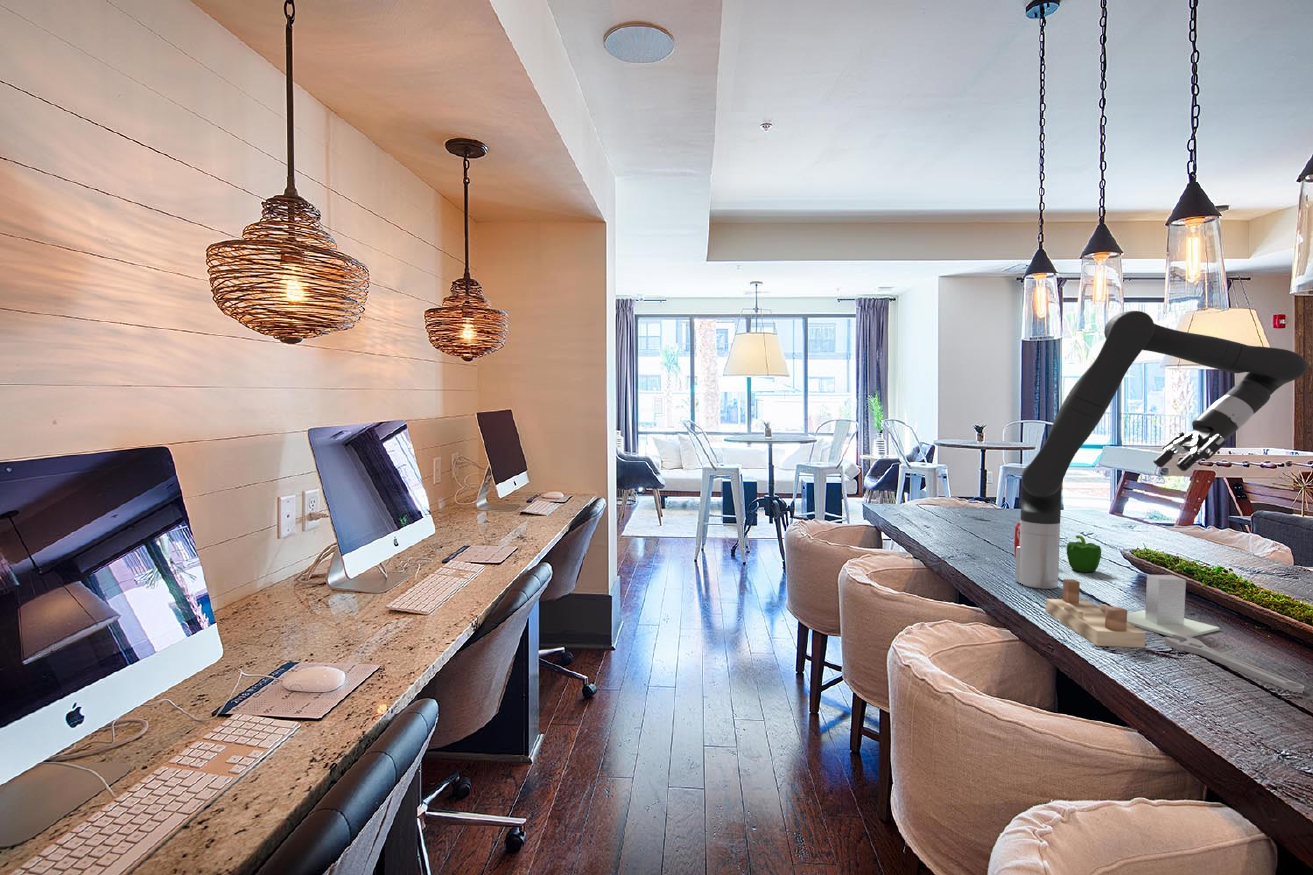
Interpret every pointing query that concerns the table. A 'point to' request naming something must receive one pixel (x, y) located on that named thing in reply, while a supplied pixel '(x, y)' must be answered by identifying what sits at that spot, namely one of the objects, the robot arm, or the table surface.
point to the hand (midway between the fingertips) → (1168, 466)
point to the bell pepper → (1083, 555)
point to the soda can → (1017, 537)
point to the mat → (1170, 626)
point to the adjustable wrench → (1229, 661)
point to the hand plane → (1094, 619)
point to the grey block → (1165, 599)
